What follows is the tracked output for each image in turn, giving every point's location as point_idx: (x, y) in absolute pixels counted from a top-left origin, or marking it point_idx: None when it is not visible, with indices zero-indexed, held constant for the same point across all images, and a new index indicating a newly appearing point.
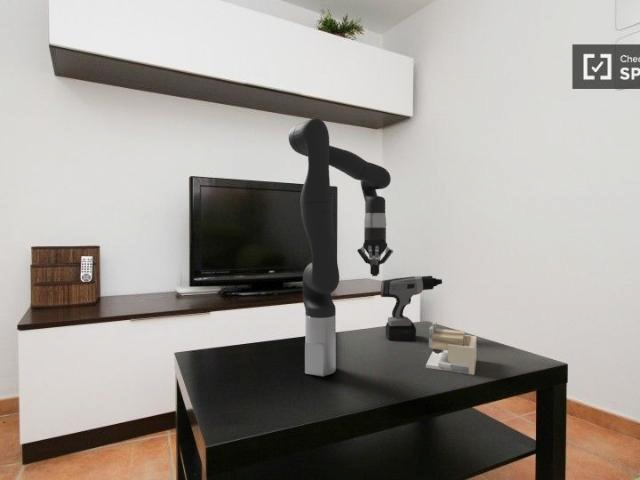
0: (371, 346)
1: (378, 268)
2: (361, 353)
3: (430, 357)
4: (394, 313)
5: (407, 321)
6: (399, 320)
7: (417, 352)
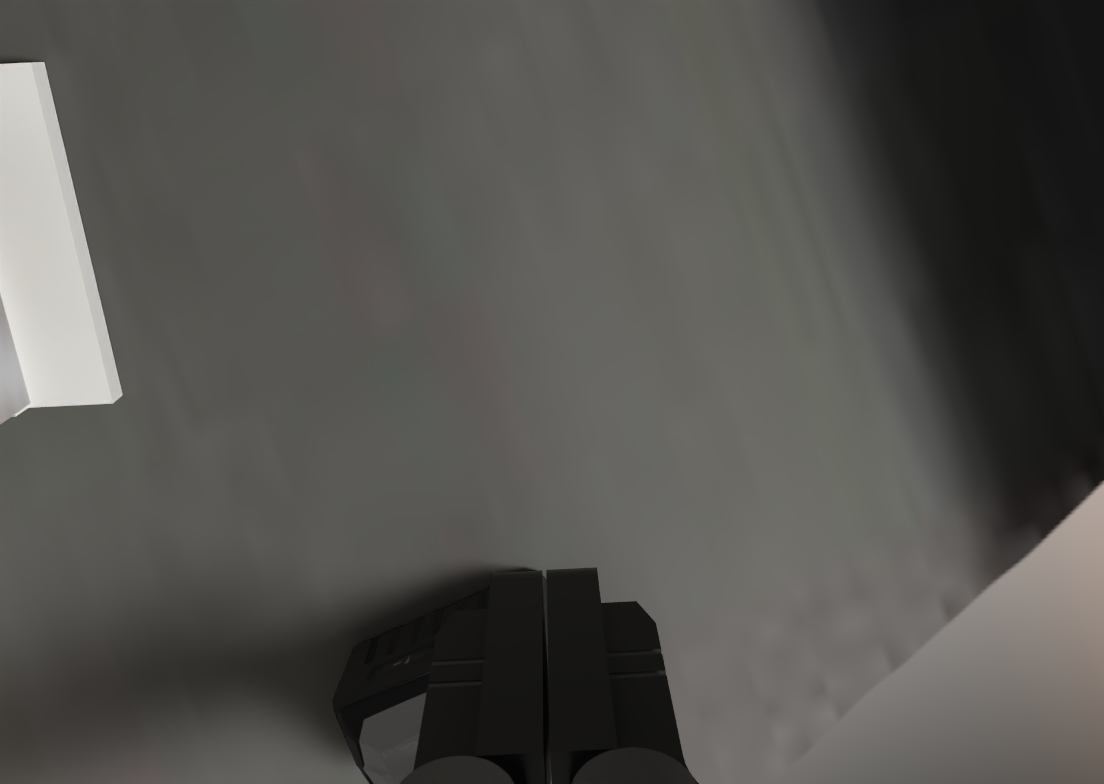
0: (612, 366)
1: (425, 744)
2: (626, 155)
3: (69, 252)
4: None
5: (389, 740)
6: None
7: (238, 389)
